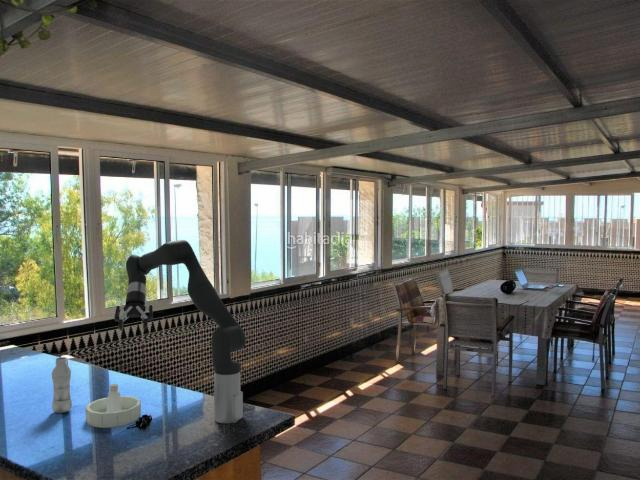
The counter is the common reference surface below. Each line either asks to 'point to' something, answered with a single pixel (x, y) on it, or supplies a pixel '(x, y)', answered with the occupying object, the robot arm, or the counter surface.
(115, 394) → the salt shaker
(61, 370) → the plastic bottle
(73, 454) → the counter surface
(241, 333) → the robot arm
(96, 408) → the bowl
